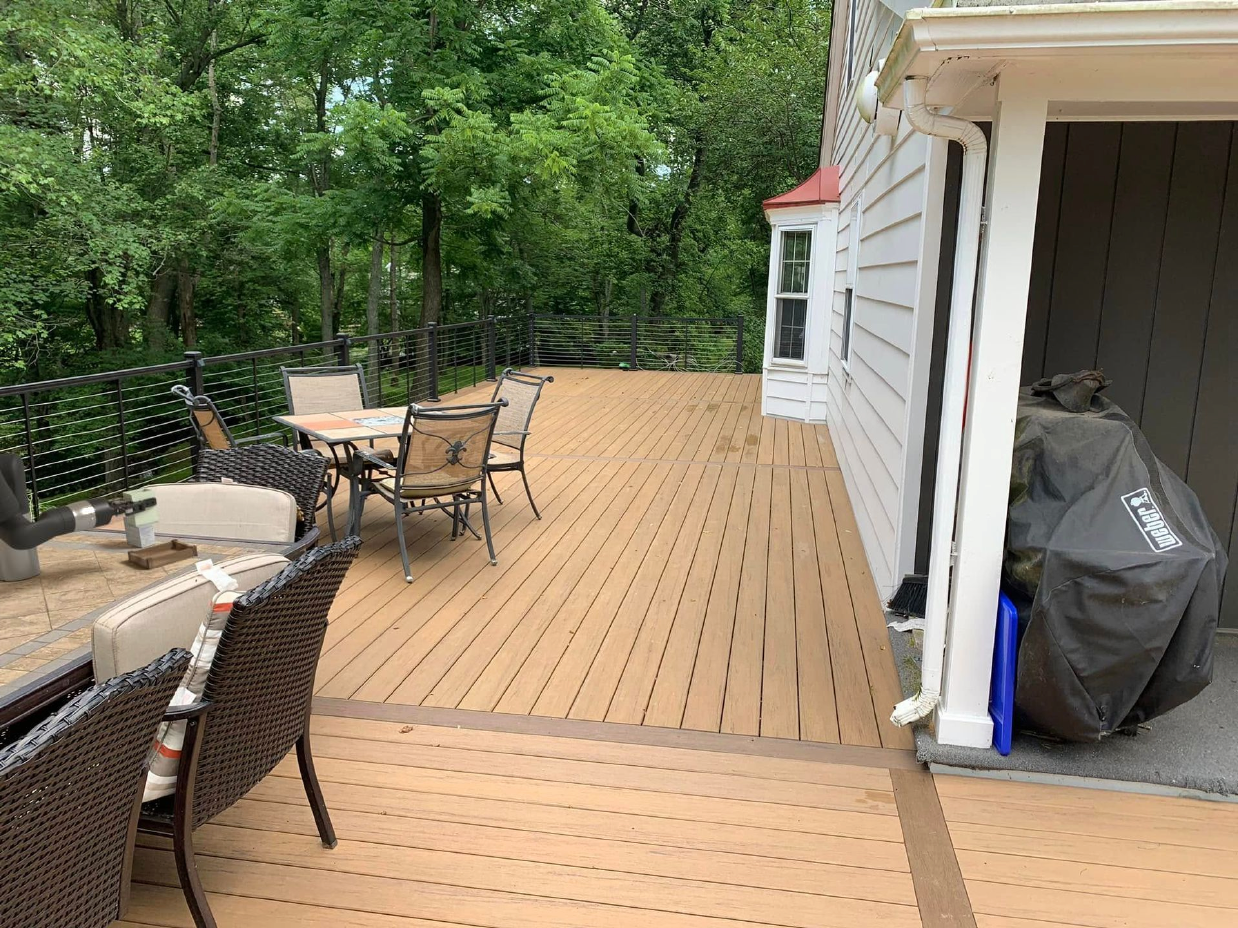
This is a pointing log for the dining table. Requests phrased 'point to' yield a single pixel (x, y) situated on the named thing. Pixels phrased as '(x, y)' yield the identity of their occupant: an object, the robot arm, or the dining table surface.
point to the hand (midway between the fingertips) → (149, 499)
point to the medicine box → (139, 535)
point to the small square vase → (142, 517)
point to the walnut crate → (162, 554)
